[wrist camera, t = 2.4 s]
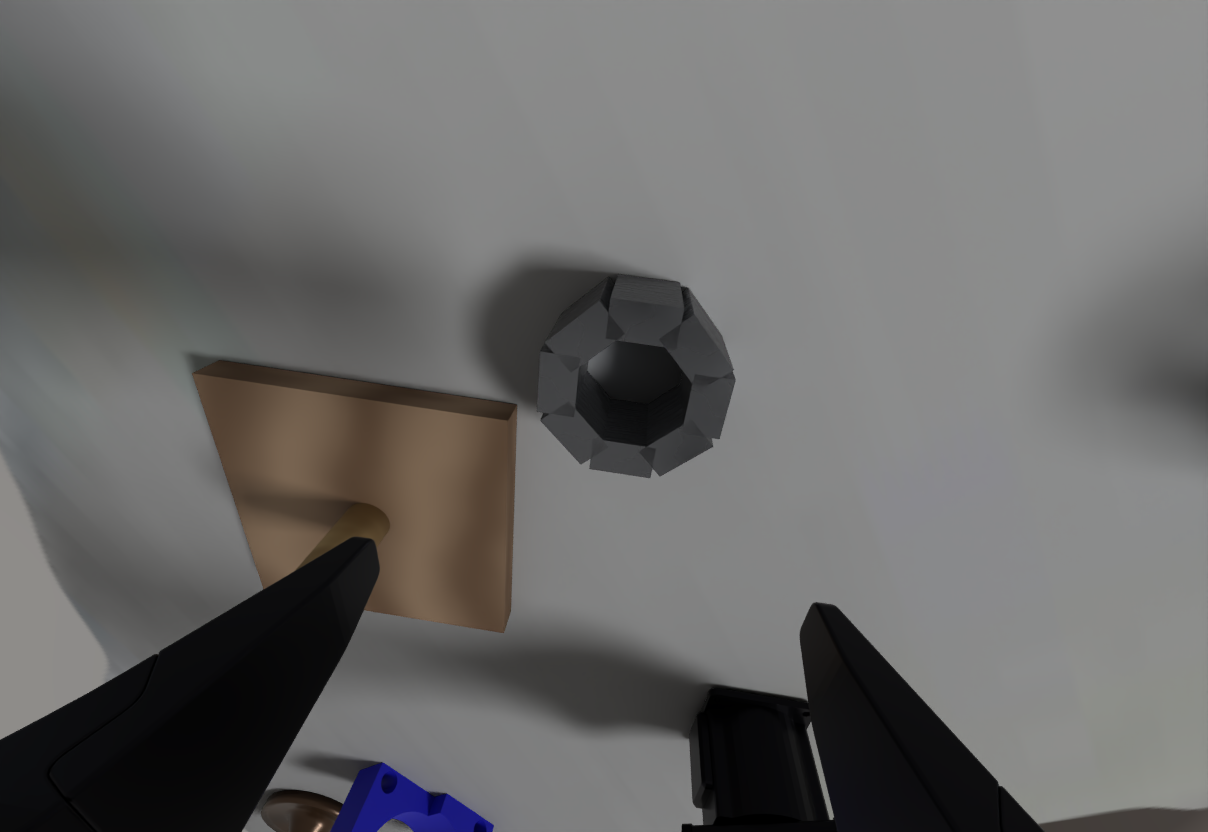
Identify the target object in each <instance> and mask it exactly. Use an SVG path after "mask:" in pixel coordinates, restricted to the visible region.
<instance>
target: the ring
mask: <svg viewBox="0 0 1208 832" xmlns="http://www.w3.org/2000/svg"><path fill="white" fill-rule="evenodd" d="M616 340H617V341H624V342H631V343H638V344H645V345H652V346H659V347H665V348H666V349H667V351H668V352H669V353H670V355H671V356H672V357H673V358H674V360H675V361H676V362H677V364H678V365H679V366H680V368H681V369H682V370H683V371H682V376H681V380H680V384H679V385H678V386H676V387H675V388H673V389H671V390H670V391H668V392H667V393H665V394H664V395H662V396H660V397H659V398H657V399H656V400H654V401H653V402H651V403H649V404H643V403H636V402H629V401H623V400H616V399H611V398H610V397H609V396H608V395H607V394H606V392H605V391H604V390H603V389H602V388H601V386H600V385H599V384H598V383H597V382H596V381H595V379H594V378H593V377H592V376H591V375H590V373H589V372H588V371H587V368H588V360H590V359H591V358H592V357H594V356H595V355H597V354H598V353H599V352H601V351H602V350H604V349H605V348H606V347H608V346H609V345H611V344H612V343H613V342H615V341H616ZM733 370H734V369H733V366H732V363H731V360H730V357H729V355H728V352H727V349H726V346H725V343H724V340H723V337H722V335H721V334H720V332H719V331H718V329H717V328H716V326H715V325H714V324H713V322H712V321H711V319H710V318H709V316H708V315H707V314H706V312H705V311H704V309H703V308H702V306H701V305H700V304H699V302H698V301H697V299H696V298H695V296H694V295H693V294H692V292H691V291H690V289H689V288H687V289H686V290H685V291H683V292H682V291H681V285H680V283H679V282H672V281H665V280H658V279H651V278H644V277H637V276H630V275H622V274H618V276H617V279H616V283H615V284H614V283H613V281H612V280H611V279H610V277H607V278H606V279H605V280H604V281H602V282H601V283H600V284H599V285H597V286H596V287H595V288H593V289H592V290H591V291H590V292H588V293H587V294H586V295H584V296H583V297H582V298H581V299H579V300H578V301H577V302H576V303H574V304H573V305H572V306H570V307H569V308H568V309H567V310H565V311H564V312H563V313H562V314H561V316H560V318H559V319H558V321H557V323H556V324H555V326H554V328H553V330H552V331H551V333H550V335H549V336H548V338H547V340H546V341H545V344H544V346H543V347H542V349H541V351H540V361H539V380H538V399H537V412H542V413H543V415H542V418H541V420H540V421H541V422H542V423H543V424H544V425H545V426H546V427H547V428H548V430H549V431H550V432H551V433H552V434H553V435H554V436H555V437H556V438H557V439H558V440H559V441H560V442H561V444H562V445H563V446H564V447H565V448H566V449H567V450H568V451H569V452H570V453H571V454H572V455H573V457H574V458H575V459H576V460H577V461H578V462H579V463H580V464H582V463H584V462H586V461H587V460H589V459H591V461H590V469H593V470H600V471H606V472H613V473H620V474H626V475H633V476H639V477H646V478H650V477H651V472H652V468H653V469H654V470H655V471H656V473H657V474H658V475H659V476H662V475H664V474H665V473H667V472H669V471H671V470H672V469H674V468H676V467H678V466H680V465H681V464H683V463H685V462H687V461H688V460H690V459H692V458H694V457H696V456H697V455H699V454H701V453H703V452H704V451H706V450H708V449H710V448H712V447H713V443H712V438H715V439H720V435H721V431H722V428H723V424H724V420H725V417H726V413H727V410H728V406H729V402H730V399H731V395H732V391H733V388H734V384H735V377H734V374H733Z"/></svg>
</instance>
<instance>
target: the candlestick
mask: <svg viewBox="0 0 1208 832" xmlns="http://www.w3.org/2000/svg"><path fill="white" fill-rule="evenodd" d="M342 806H343V804H341V803H339V802H337V801H335V800H333V799H331V798H328V797H325V796H322V795H319V794H315V793H311V792H305V791H297V790H284V791H279V792H276V793H274V794H272V795H271V796H270V797H269V798H268V800H267V802H266V803H265V805H264V807H263V808H262V811H261V816H262V818H263V820H264V821H265V823H266V824H267V825H268V826H269V827H271V828H272V829H273V830H274V831H276V832H330V831H331V829H332V827H333V825H334V823H335V821H336V819H337V816H338V814H339V812H340V810H341V808H342Z"/></svg>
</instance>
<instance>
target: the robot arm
mask: <svg viewBox="0 0 1208 832" xmlns="http://www.w3.org/2000/svg"><path fill="white" fill-rule="evenodd" d="M379 572H380V564H379V559H378V553H377V548H376V543H375V541H374V540H373V539H371V538H365V537H358V536H354V537H351V538H349V539H347V540H346V541H344V542H342V543H341V544H339V545H337V546H336V547H334V548H332V549H331V550H329V551H327V552H326V553H324V554H322V555H320V556H319V557H317V558H315V559H314V560H312V561H310V562H309V563H307V564H305V565H304V566H302V567H300V568H299V569H297V570H295V571H294V572H292V573H290V574H289V575H287V576H285V577H284V578H282V579H280V580H279V581H277V582H275V583H273V584H272V585H270V586H268V587H267V588H265V589H263V590H262V591H260V592H258V593H257V594H255V595H253V596H252V597H250V598H248V599H247V600H245V601H243V602H242V603H240V604H238V605H237V606H235V607H233V608H232V609H230V610H228V611H227V612H225V613H223V614H221V615H220V616H218V617H216V618H215V619H213V620H211V621H210V622H208V623H206V624H205V625H203V626H201V627H200V628H198V629H196V630H195V631H193V632H191V633H190V634H188V635H186V636H185V637H183V638H181V639H180V640H178V641H176V642H174V643H173V644H171V645H169V646H168V647H166V648H164V649H163V650H161V651H160V652H159V654H154V655H152V656H151V657H149V658H147V659H146V660H144V661H142V662H141V663H139V664H137V665H136V666H134V667H132V668H131V669H129V670H127V671H125V672H124V673H122V674H120V675H118V676H117V677H115V678H113V679H112V680H110V681H108V682H106V683H105V684H103V685H101V686H100V687H98V688H96V689H94V690H93V691H91V692H89V693H87V694H85V695H84V696H82V697H80V698H78V699H77V700H74V701H73V702H70V703H69V704H67V705H65V706H63V707H61V708H59V709H58V710H56V711H54V712H52V713H50V714H49V715H47V716H45V717H43V718H41V719H39V720H37V721H35V722H33V723H31V724H30V725H28V726H26V727H24V728H22V729H20V730H18V731H16V732H14V733H12V734H10V735H9V736H7V737H5V738H3V739H1V740H0V832H242V830H243V828H244V827H245V825H246V823H247V821H248V820H249V818H250V816H251V814H252V813H253V811H254V809H255V808H256V806H257V804H258V802H259V801H260V799H261V797H262V795H263V794H264V792H265V790H266V788H267V787H268V785H269V783H270V781H271V780H272V778H273V776H274V774H275V773H276V771H277V769H278V767H279V766H280V764H281V762H282V760H283V759H284V757H285V755H286V753H287V752H288V750H289V748H290V746H291V745H292V743H293V741H294V739H295V738H296V736H297V734H298V732H299V731H300V729H301V727H302V725H303V724H304V722H305V720H306V718H307V717H308V715H309V713H310V711H311V710H312V708H313V706H314V704H315V703H316V701H317V699H318V698H319V696H320V694H321V692H322V691H323V689H324V687H325V685H326V684H327V682H328V680H329V678H330V677H331V675H332V673H333V671H334V670H335V668H336V666H337V664H338V663H339V661H340V659H341V657H342V655H343V654H344V652H345V650H346V648H347V646H348V644H349V642H350V640H351V637H352V635H353V633H354V631H355V629H356V626H357V624H358V622H359V620H360V617H361V615H362V613H363V611H364V608H365V606H366V604H367V602H368V599H369V597H370V595H371V593H372V590H373V588H374V586H375V584H376V581H377V579H378V576H379ZM800 645H801V652H802V660H803V667H804V675H805V682H806V689H807V697H808V703H804V702H798V701H792V700H786V699H780V698H774V697H768V696H762V695H756V694H750V693H744V692H738V691H732V690H726V689H720V688H714V689H711V690H710V691H709V692H708V695H707V698H706V700H705V703H704V706H703V708H702V711H701V712H699V713H698V714H697V715H696V718H695V720H694V723H693V726H692V728H691V731H690V734H689V742H690V761H691V780H692V799H693V804H694V805H695V807H696V808H701V809H702V812H703V825H692V824H682V832H1045V831H1044V830H1043V829H1042V828H1041V827H1040V826H1039V825H1038V824H1037V823H1036V822H1035V821H1034V820H1033V819H1032V818H1031V817H1030V815H1029V814H1028V813H1027V812H1026V811H1025V810H1024V809H1023V808H1022V807H1021V806H1020V805H1019V804H1018V803H1017V801H1016V800H1015V799H1014V798H1013V797H1012V796H1011V795H1010V794H1009V793H1008V792H1007V791H1006V790H1005V788H1004V787H1002V786H999V784H998V781H997V780H996V779H995V778H994V777H993V776H992V775H991V773H990V772H989V771H988V770H987V769H986V768H985V767H984V766H983V765H982V764H981V763H980V762H979V760H978V759H977V758H976V757H975V756H974V755H973V754H972V753H971V752H970V751H969V750H968V748H967V747H966V746H965V745H964V744H963V743H962V742H961V741H960V740H959V739H958V738H957V737H956V735H955V734H954V733H953V732H952V731H951V730H950V729H949V728H948V727H947V726H946V725H945V724H944V722H943V721H942V720H941V719H940V718H939V717H938V716H937V715H936V714H935V713H934V712H933V710H932V709H931V708H930V707H929V706H928V705H927V704H926V703H925V702H924V701H923V700H922V699H921V697H920V696H919V695H918V694H917V693H916V692H915V691H914V690H913V689H912V688H911V687H910V686H909V684H908V683H907V682H906V681H905V680H904V679H903V678H902V677H901V676H900V675H899V674H898V672H897V671H896V670H895V669H894V668H893V667H892V666H891V665H890V664H889V663H888V662H887V661H886V659H885V658H884V657H883V656H882V655H881V654H880V653H879V652H878V651H877V650H876V649H875V647H874V646H873V645H872V644H871V643H870V642H869V641H868V640H867V639H866V638H865V637H864V636H863V634H862V633H861V632H860V631H859V630H858V629H857V628H856V627H855V626H854V625H853V624H852V623H851V621H850V620H849V619H848V618H847V617H846V616H845V615H844V614H843V613H842V612H841V611H840V609H839V608H837V607H836V606H835V605H832V604H825V603H818V602H815V603H813V604H812V605H811V607H810V609H809V611H808V613H807V615H806V618H805V620H804V622H803V624H802V627H801V630H800ZM810 722H812V727H813V731H814V736H815V740H816V744H817V748H818V752H819V756H820V760H821V765H822V769H823V773H824V777H825V781H826V785H827V789H828V793H829V798H830V802H831V806H832V810H833V814H834V818H833V820H830V819H829V815H828V811H827V808H826V804H825V800H824V796H823V792H822V788H821V784H820V780H819V776H818V773H817V769H816V765H815V761H814V757H813V753H812V749H811V745H810V741H809V737H808V734H807V730H806V729H807V728H808V726H809V724H810Z"/></svg>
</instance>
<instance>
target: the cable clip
mask: <svg viewBox="0 0 1208 832" xmlns="http://www.w3.org/2000/svg"><path fill="white" fill-rule="evenodd" d="M390 819H397V820H400V821H402V822H404V823H405V824H407V825H408V826H409V827H410V828H411V829H412V830H413V831H414V832H492V831H493V827H494V825H492V824H491V823H490V822H488V821H487V820H485V819H484V818H482V817H481V816H479V815H478V814H476V813H475V812H473V811H472V810H470V809H469V808H467V807H466V806H465V805H463V804H462V803H460V802H459V801H457V800H456V799H454V798H453V797H451V796H450V795H448V794H443V795H440V796H436V797H434V796H433V795H431V794H430V793H428V792H427V791H425V790H424V789H422V788H421V787H419V786H418V785H416V784H415V783H413V782H412V781H410V780H409V779H407V778H406V777H404V776H403V775H401V774H400V773H398V772H397V771H395V770H394V769H392V768H391V767H389V766H388V765H386V764H385V763H383V762H382V763H380V764H377V765H374V766H371V767H368V768H365V769H362V770H360V771H359V773H358V775H357V777H356V779H355V781H354V783H353V785H352V787H351V790H350V792H349V794H348V796H347V798H346V800H345V802H344V804H343V806H342V808H341V810H340V812H339V814H338V816H337V819H336V821H335V823H334V825H333V827H332V829H331V831H330V832H377V831H378V830H379V829H380V827H382V826H383V825H384V824H385V823H386V822H387V821H389V820H390Z"/></svg>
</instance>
